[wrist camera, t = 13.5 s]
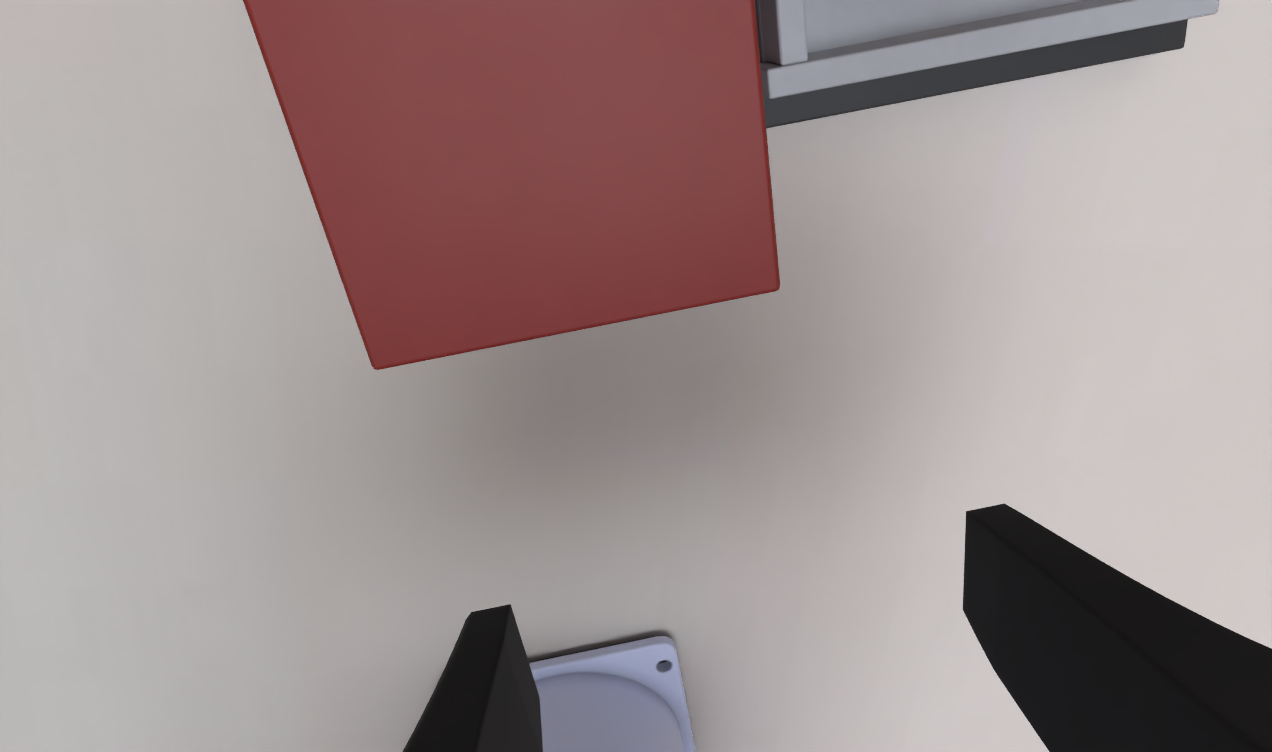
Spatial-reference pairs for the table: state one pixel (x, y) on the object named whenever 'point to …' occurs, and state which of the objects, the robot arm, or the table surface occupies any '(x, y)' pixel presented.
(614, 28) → the coffee maker
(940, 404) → the table surface
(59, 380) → the table surface
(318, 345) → the table surface
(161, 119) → the table surface
